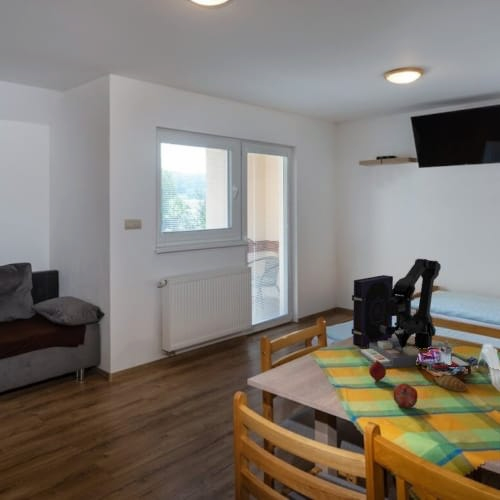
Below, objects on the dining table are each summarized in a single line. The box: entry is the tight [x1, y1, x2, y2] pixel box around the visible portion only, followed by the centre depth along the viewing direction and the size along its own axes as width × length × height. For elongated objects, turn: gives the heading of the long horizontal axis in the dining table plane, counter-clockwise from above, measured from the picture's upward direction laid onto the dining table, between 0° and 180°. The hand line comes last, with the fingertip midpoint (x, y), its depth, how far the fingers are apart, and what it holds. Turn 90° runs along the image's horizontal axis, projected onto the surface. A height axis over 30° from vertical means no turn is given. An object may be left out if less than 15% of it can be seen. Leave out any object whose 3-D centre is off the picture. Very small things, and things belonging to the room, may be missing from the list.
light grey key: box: [378, 340, 392, 349], centre depth 196 cm, size 4×4×3 cm
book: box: [351, 274, 394, 348], centre depth 218 cm, size 24×6×30 cm, turn 130°
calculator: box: [433, 356, 472, 375], centre depth 179 cm, size 11×4×15 cm
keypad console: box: [357, 342, 418, 369], centre depth 193 cm, size 19×21×4 cm
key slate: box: [387, 337, 400, 346], centre depth 200 cm, size 4×4×3 cm
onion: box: [368, 360, 387, 382], centre depth 168 cm, size 6×6×8 cm
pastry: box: [436, 374, 468, 392], centre depth 162 cm, size 9×7×4 cm
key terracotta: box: [385, 350, 400, 354], centre depth 190 cm, size 4×4×3 cm
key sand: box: [403, 345, 420, 355], centre depth 188 cm, size 4×4×3 cm
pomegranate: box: [392, 382, 419, 409], centre depth 148 cm, size 7×7×10 cm
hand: (402, 348), depth 194 cm, fingers closed, pressing on key sage
